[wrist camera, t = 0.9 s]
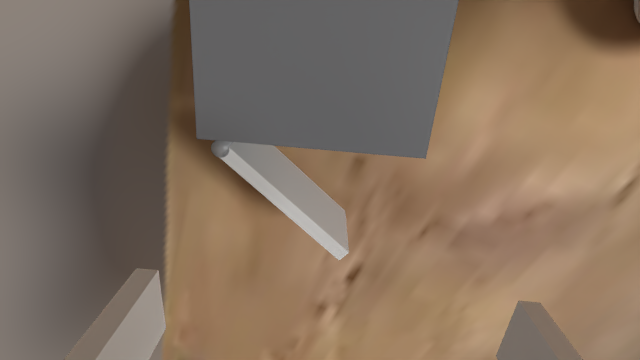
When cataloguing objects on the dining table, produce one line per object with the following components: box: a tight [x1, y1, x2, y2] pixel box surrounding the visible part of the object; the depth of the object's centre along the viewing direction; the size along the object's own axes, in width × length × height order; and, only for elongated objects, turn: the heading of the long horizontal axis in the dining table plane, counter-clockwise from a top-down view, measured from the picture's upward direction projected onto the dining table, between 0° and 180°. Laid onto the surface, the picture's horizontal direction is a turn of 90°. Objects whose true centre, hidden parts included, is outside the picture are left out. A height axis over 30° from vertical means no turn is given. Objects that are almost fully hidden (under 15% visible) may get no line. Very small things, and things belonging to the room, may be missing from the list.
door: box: [211, 140, 349, 260], centre depth 27 cm, size 2×12×7 cm, turn 45°
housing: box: [189, 0, 459, 159], centre depth 23 cm, size 12×14×9 cm
